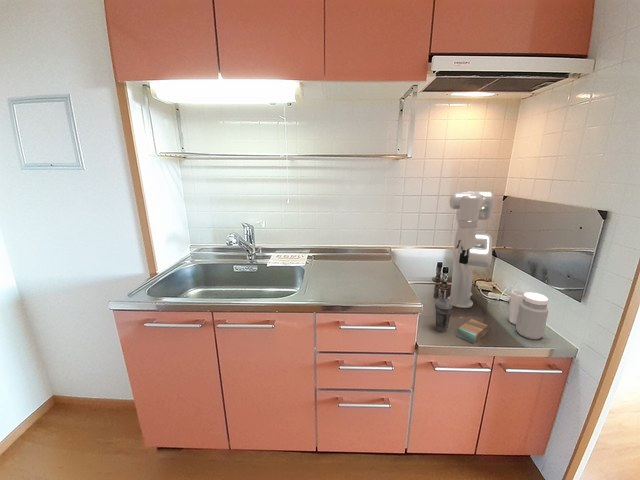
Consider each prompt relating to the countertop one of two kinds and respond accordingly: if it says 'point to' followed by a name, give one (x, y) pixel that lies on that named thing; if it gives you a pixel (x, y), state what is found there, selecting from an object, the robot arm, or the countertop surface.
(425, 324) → the countertop surface
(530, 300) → the jar
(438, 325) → the beverage cup
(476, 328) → the wooden block
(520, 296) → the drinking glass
